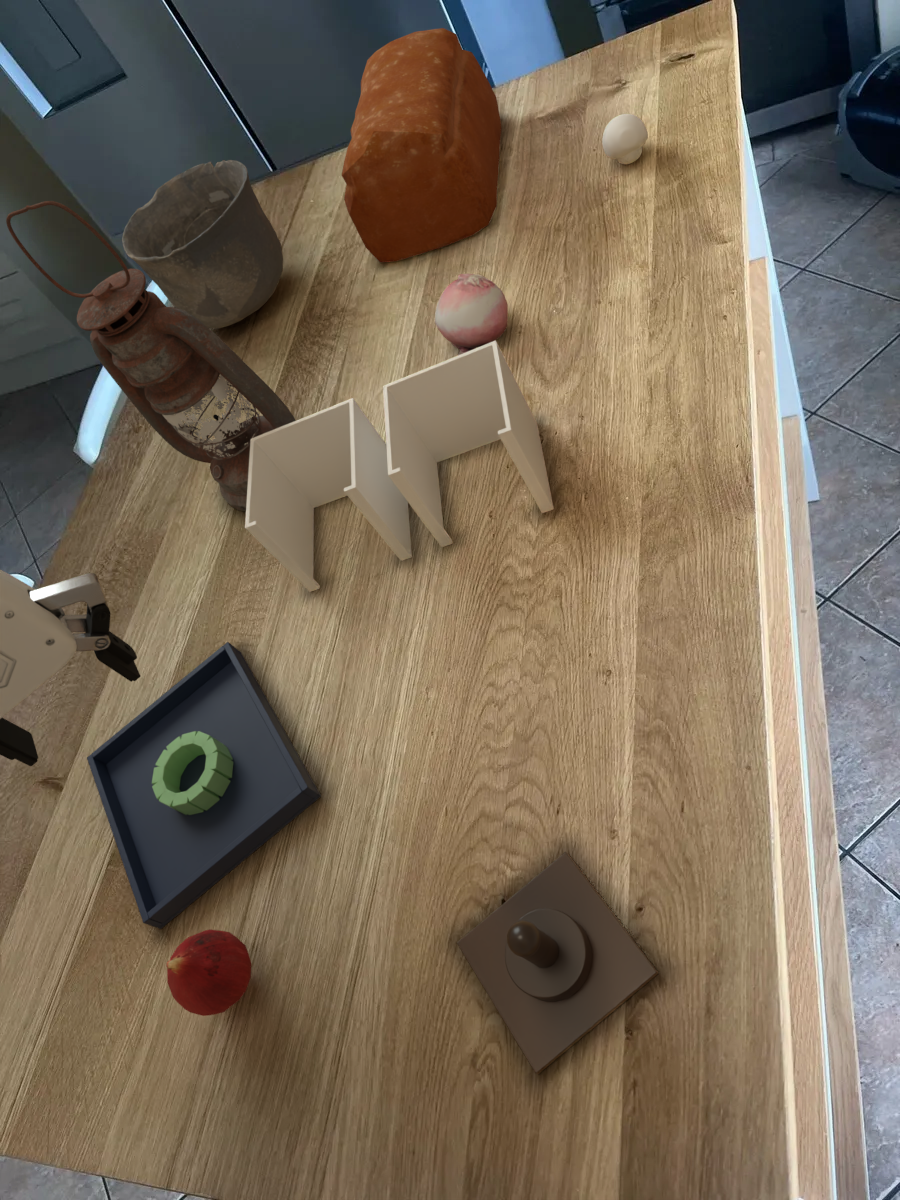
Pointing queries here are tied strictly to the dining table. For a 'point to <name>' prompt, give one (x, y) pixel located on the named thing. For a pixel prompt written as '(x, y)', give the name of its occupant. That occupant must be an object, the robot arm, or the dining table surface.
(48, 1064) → the dining table surface
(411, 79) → the bread
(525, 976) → the stand
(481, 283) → the onion
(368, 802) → the dining table surface
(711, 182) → the dining table surface
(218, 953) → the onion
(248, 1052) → the dining table surface
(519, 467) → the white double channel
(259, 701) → the tray
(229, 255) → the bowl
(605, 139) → the mushroom
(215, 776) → the ring
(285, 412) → the lantern
